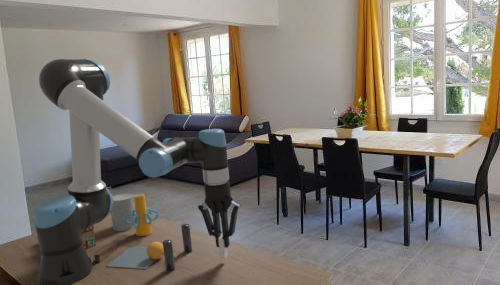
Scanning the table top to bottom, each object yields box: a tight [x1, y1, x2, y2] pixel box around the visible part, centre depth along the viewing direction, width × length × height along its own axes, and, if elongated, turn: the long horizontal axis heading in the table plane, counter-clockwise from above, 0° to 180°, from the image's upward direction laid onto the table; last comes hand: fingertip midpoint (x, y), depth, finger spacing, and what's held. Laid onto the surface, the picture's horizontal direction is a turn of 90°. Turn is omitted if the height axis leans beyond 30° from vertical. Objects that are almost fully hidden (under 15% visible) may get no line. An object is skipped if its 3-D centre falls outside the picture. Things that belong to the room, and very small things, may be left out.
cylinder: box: [125, 193, 159, 237], centre depth 149 cm, size 12×10×15 cm
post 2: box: [181, 223, 193, 254], centre depth 130 cm, size 3×3×9 cm
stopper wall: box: [93, 242, 118, 263], centre depth 133 cm, size 2×9×2 cm, turn 164°
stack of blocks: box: [81, 225, 97, 250], centre depth 147 cm, size 21×6×12 cm, turn 44°
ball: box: [146, 241, 164, 261], centre depth 127 cm, size 6×6×6 cm
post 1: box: [162, 239, 176, 273], centre depth 119 cm, size 3×3×9 cm
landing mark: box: [106, 246, 156, 270], centre depth 129 cm, size 14×14×1 cm
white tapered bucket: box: [110, 192, 136, 232], centre depth 158 cm, size 10×10×12 cm
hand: (224, 256), depth 121 cm, fingers closed
